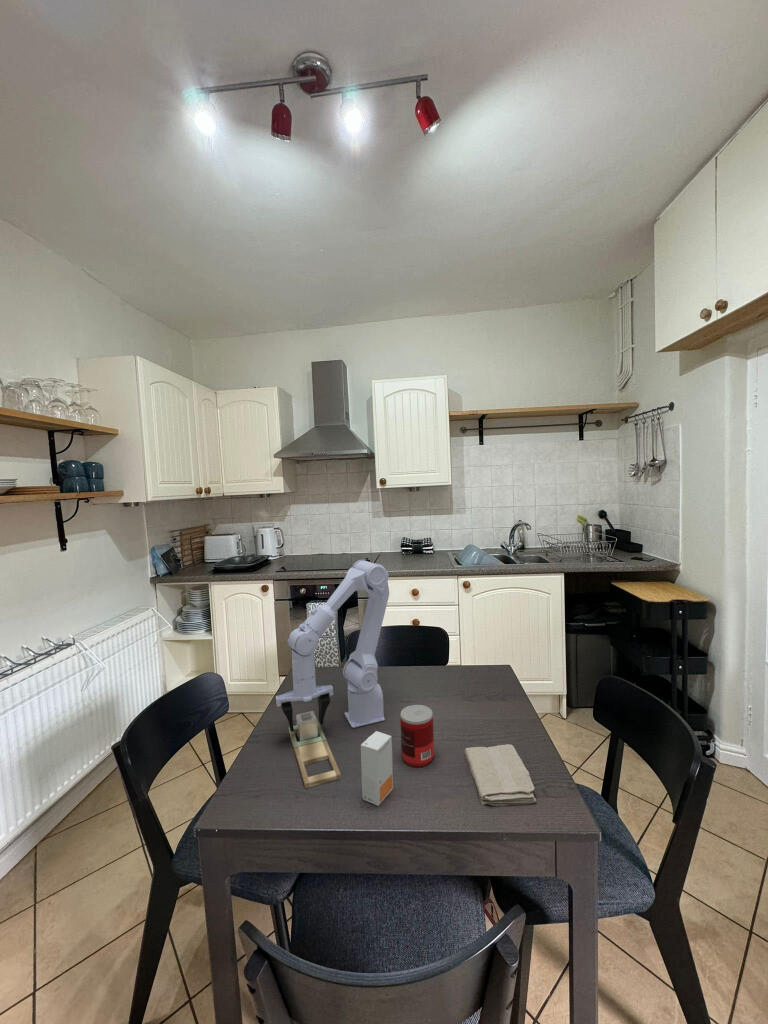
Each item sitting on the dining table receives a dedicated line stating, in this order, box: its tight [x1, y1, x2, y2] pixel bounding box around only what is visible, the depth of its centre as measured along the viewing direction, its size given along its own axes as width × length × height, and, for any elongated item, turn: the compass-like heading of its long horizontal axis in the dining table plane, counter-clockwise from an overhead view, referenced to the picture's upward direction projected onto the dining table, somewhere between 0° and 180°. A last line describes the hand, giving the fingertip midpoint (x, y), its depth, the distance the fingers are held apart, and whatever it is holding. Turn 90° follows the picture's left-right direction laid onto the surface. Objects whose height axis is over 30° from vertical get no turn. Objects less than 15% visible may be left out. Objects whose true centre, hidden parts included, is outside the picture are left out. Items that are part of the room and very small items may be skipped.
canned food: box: [399, 704, 435, 768], centre depth 104 cm, size 8×8×11 cm
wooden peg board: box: [288, 720, 342, 789], centre depth 107 cm, size 8×24×1 cm, turn 21°
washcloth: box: [463, 743, 537, 807], centre depth 97 cm, size 12×18×3 cm, turn 3°
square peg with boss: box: [295, 710, 319, 742], centre depth 113 cm, size 4×4×6 cm
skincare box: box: [360, 730, 394, 807], centre depth 92 cm, size 6×4×12 cm
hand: (306, 726), depth 114 cm, fingers open, 7 cm apart
